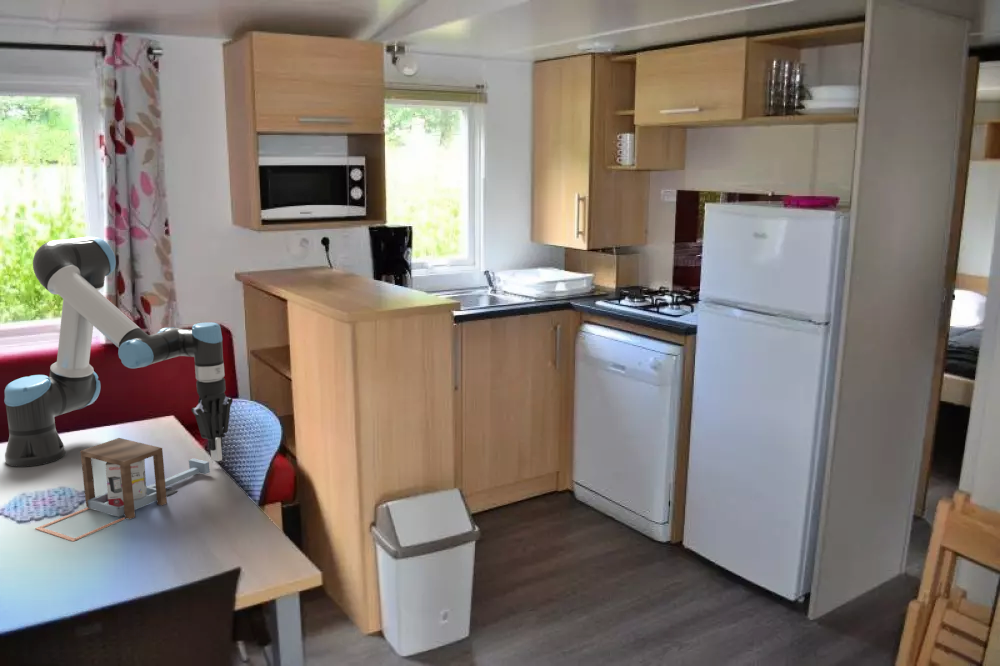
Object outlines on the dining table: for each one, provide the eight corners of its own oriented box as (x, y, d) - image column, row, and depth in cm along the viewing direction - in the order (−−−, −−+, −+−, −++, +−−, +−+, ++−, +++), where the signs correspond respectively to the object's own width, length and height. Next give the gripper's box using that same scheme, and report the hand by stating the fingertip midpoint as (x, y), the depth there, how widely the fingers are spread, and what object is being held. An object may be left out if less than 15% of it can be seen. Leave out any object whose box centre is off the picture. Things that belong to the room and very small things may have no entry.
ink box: (108, 510, 203) (103, 465, 200) (111, 502, 207) (106, 458, 205) (146, 506, 205) (142, 461, 203) (148, 498, 210) (144, 454, 207)
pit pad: (138, 491, 214) (138, 490, 214) (153, 485, 218) (153, 484, 218) (162, 498, 210) (162, 497, 210) (177, 491, 214) (177, 490, 214)
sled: (88, 507, 202) (86, 495, 202) (187, 467, 229) (186, 456, 228) (118, 516, 197) (117, 504, 197) (216, 474, 224) (215, 463, 223)
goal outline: (35, 529, 192) (35, 528, 192) (88, 507, 204) (88, 507, 204) (72, 541, 186) (72, 540, 186) (125, 518, 198) (125, 518, 198)
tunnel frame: (86, 506, 205) (80, 450, 202) (124, 491, 214) (119, 437, 211) (129, 519, 197) (124, 461, 194) (166, 503, 207) (162, 447, 204)
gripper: (201, 385, 219) (208, 469, 223) (238, 375, 230) (243, 454, 235) (181, 382, 222) (188, 464, 227) (218, 372, 233) (224, 450, 238)
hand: (216, 459), depth 231 cm, fingers closed
